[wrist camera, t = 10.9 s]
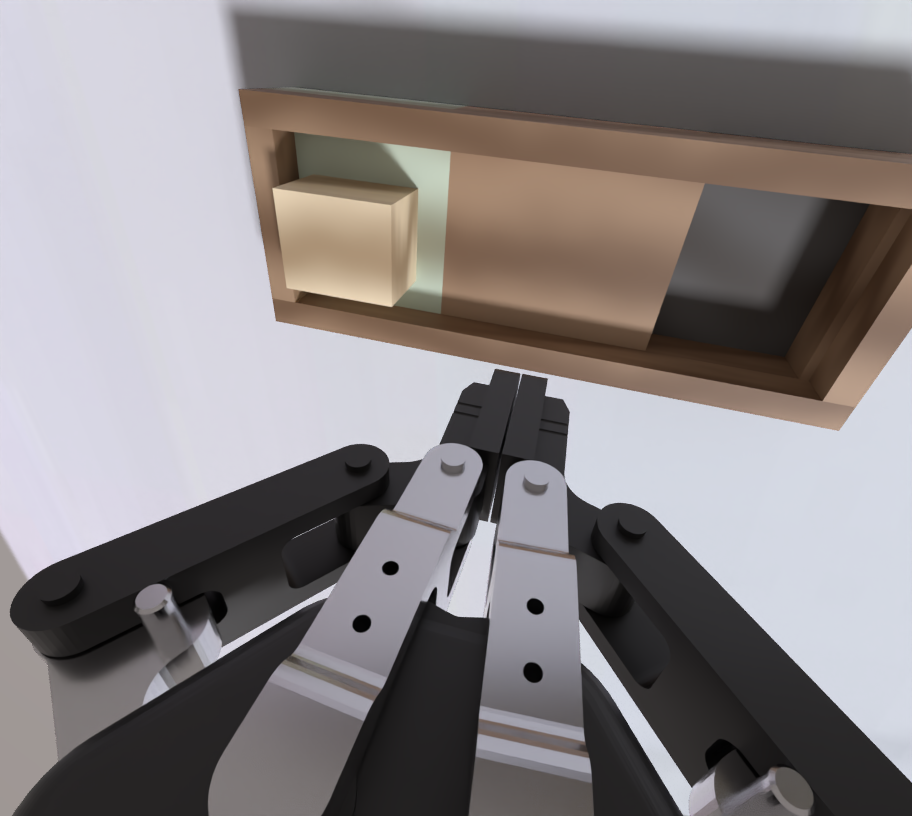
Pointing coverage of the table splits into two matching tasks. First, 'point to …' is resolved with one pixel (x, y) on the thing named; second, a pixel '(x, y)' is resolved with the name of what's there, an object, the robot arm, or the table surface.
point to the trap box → (614, 247)
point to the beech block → (348, 237)
